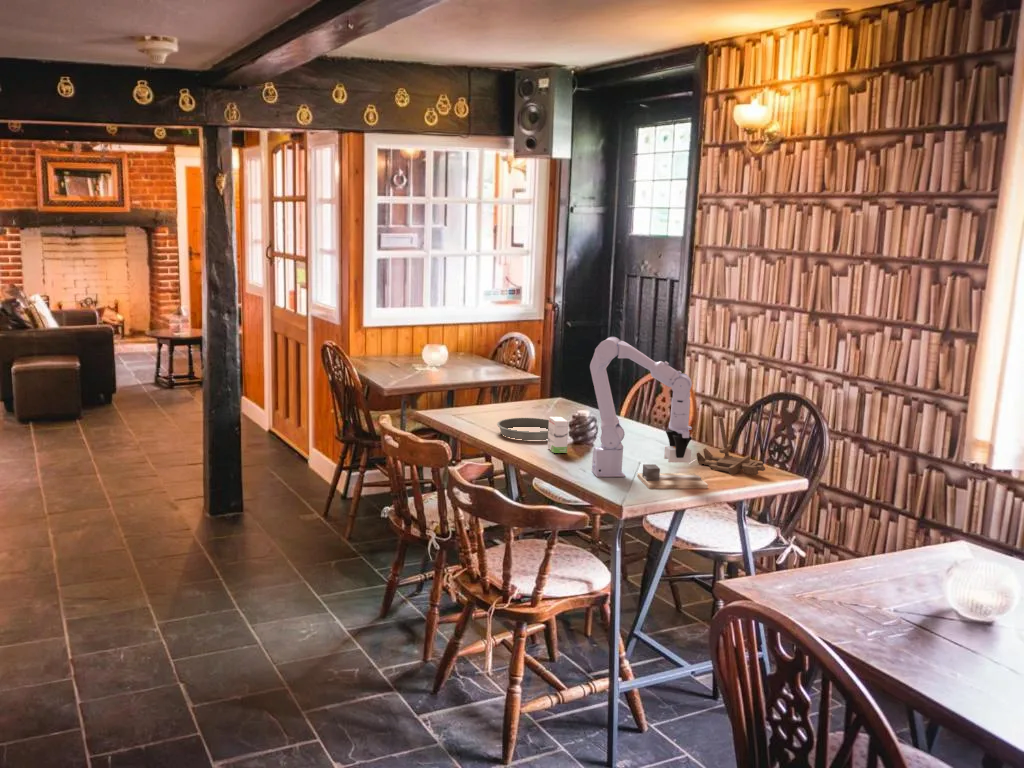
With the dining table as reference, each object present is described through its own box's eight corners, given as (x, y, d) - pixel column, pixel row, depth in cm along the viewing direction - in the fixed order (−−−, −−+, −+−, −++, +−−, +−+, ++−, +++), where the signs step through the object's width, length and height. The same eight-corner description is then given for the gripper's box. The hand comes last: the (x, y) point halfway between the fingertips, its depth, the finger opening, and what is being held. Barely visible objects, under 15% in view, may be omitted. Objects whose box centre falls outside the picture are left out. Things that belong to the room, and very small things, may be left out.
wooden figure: (706, 412, 327) (769, 419, 308) (714, 460, 332) (776, 469, 313) (681, 427, 318) (743, 435, 300) (689, 476, 323) (751, 486, 304)
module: (668, 462, 297) (669, 449, 297) (664, 458, 302) (665, 445, 301) (690, 462, 298) (691, 449, 298) (685, 458, 303) (686, 445, 303)
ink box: (567, 454, 331) (569, 421, 329) (553, 454, 330) (555, 421, 328) (559, 448, 339) (561, 416, 337) (546, 448, 338) (548, 416, 336)
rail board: (648, 488, 292) (649, 471, 291) (637, 476, 305) (638, 461, 304) (707, 488, 295) (709, 472, 294) (694, 477, 307) (695, 461, 306)
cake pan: (483, 432, 360) (484, 421, 359) (534, 426, 375) (534, 415, 374) (523, 446, 341) (524, 434, 340) (575, 439, 356) (575, 427, 355)
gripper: (700, 418, 291) (696, 461, 293) (684, 408, 305) (681, 449, 308) (677, 417, 290) (674, 461, 292) (663, 408, 304) (660, 449, 307)
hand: (677, 455), depth 300 cm, fingers closed on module, 5 cm apart
